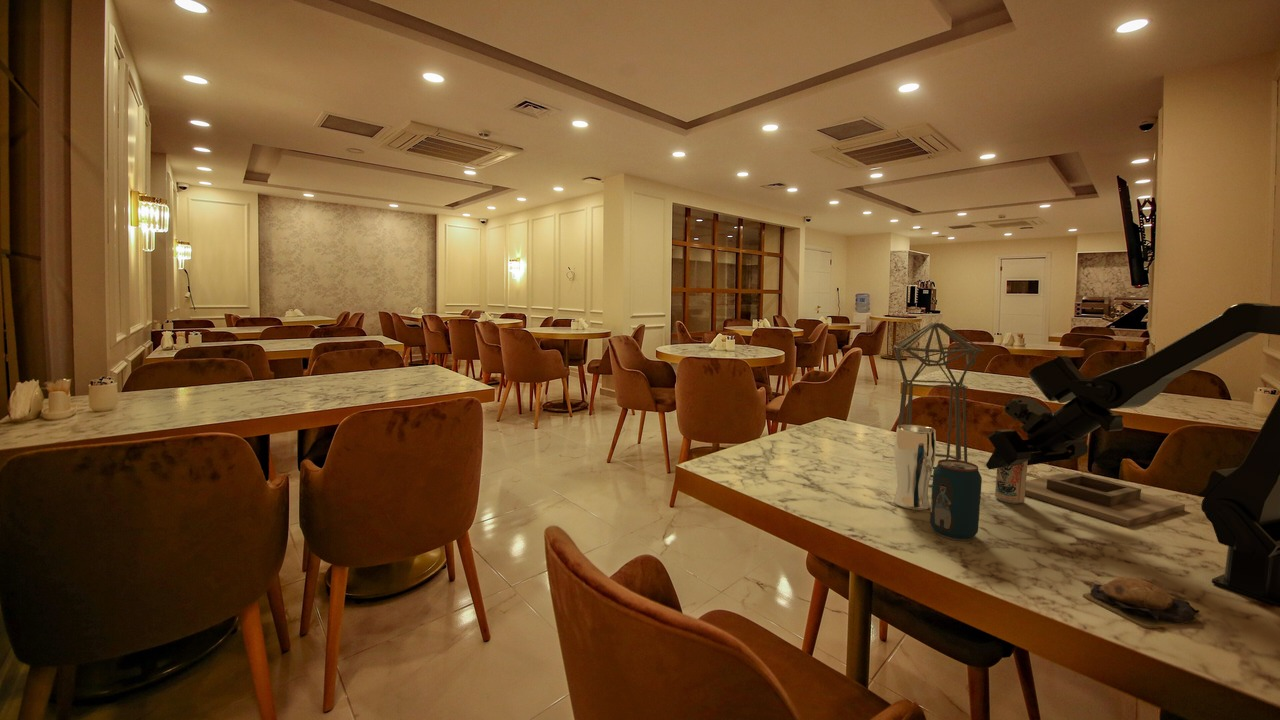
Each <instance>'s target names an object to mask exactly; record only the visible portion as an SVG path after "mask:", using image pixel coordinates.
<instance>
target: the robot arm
mask: <svg viewBox="0 0 1280 720" xmlns="http://www.w3.org/2000/svg"><path fill="white" fill-rule="evenodd" d="M1259 334H1266V335H1273V336H1274V335H1275V336H1280V305H1271V304H1269V303H1264V302H1263V303H1262V302H1259V303H1258V302H1242V303H1237V304H1234V305H1232V306H1231V305H1230V307H1228V308H1227V309H1226V310H1225V311H1224V312H1223V313H1221V314H1220V315H1218V316H1216V317H1214V318H1212V319H1211V320H1209V321H1208V322H1206V323H1204V324H1202V325H1201V326H1199V327H1198V328H1196V329H1194V330H1192V331H1191V332H1188V333H1186V334H1185V335H1184V336H1182V337H1179V338H1178V339H1177V340H1175V341H1173V342H1172V343H1170V344H1168V345H1167V346H1165V347H1163V348H1161V349H1159V350H1157V351H1156V352H1155V353H1153V354H1151V355H1149V356H1147V357H1145V358H1144V359H1141V360H1138V361H1137V362H1134V363H1130V364H1127V365H1122V366H1119V367H1117V368H1114V369H1111V370H1108V371H1107V372H1103V373H1101V374H1098V375H1096V376H1094V377H1087V378H1086V376H1084V374H1083V373H1082V372H1081V371H1080V370H1079V369H1078V368H1077V367H1076V365H1075V364H1074V363H1073V361H1072V359H1071V358H1070V357H1069V356H1068V355H1058V356H1057V357H1054V359H1051V360H1048V361H1045V362H1044V363H1041V364H1040V365H1036V366H1035V367H1033V368H1032V369H1031V370H1030V371H1029V372H1028V377H1029V379H1030V380H1031V381H1032V382H1033V383H1034V384H1035V385H1036V387H1037V388H1038V389H1039V390H1040V391H1041V393H1042V394H1043V395H1044V397H1045V398H1046V399H1047V400H1048V401H1049V402H1056V401H1057V402H1058V403H1059V404H1063V403H1065V404H1064V405H1062V406H1061V407H1059V408H1058V409H1056V410H1054V412H1052V411H1050V409H1048V408H1047V407H1045V406H1044V405H1042V404H1040V403H1039V402H1037V401H1036V400H1035V399H1033V398H1030V397H1018V398H1016V397H1015V398H1013V399H1010V400H1009V401H1008V402H1005V404H1004V408H1003V409H1004V413H1005V414H1006V415H1008V416H1010V417H1011V418H1012V419H1014V420H1017V421H1018V422H1019V423H1022V425H1021V426H1020V428H1021V429H1022V431H1023V432H1024V434H1025V433H1026V434H1027V435H1026V436H1027V437H1026V438H1027V439H1023V438H1022V437H1021V436H1020V434H1019V433H1018V431H1017V430H1015V429H1014V430H1013V429H1009V428H1008V429H997V430H994V431H993V432H992V433H989V435H988V437H987V438H988V440H989V442H991V444H992V445H993V448H994V450H993V452H992V454H991V455H990V457H989V459H988V460H987V462H986V464H985V465H986V467H987V470H994V469H996V470H997V468H1002V467H1008V466H1015V465H1021V464H1022V463H1023V462H1026V461H1028V464H1027V466H1033V465H1040V464H1046V463H1047V464H1048V463H1054V462H1055V463H1056V462H1062V461H1067V460H1073V459H1079V458H1081V457H1083V456H1085V455H1087V453H1088V450H1089V448H1088V447H1089V446H1088V445H1087V443H1086V442H1085V441H1086V440H1087V437H1086V436H1087V435H1089V434H1090V433H1092V432H1093V431H1095V430H1097V429H1099V428H1100V427H1101V428H1102V429H1103V430H1104V431H1105V432H1115V431H1116V432H1117V431H1123V430H1124V423H1123V418H1124V415H1122V414H1117V413H1115V412H1114V411H1112V410H1116V409H1117V410H1118V409H1133V408H1140V407H1142V406H1143V407H1144V406H1145V405H1147V404H1148V403H1149V402H1151V401H1152V400H1153V399H1155V398H1156V397H1157V396H1159V395H1160V394H1162V392H1163V391H1164V390H1165V389H1166V388H1167V386H1168V385H1169V384H1170V383H1171V382H1173V381H1174V380H1175V379H1176V378H1178V377H1180V376H1183V374H1185V373H1188V372H1189V371H1191V370H1193V369H1194V368H1197V367H1199V366H1201V365H1202V364H1204V363H1207V362H1208V361H1210V360H1212V359H1214V358H1216V357H1217V356H1220V355H1222V354H1223V353H1225V352H1227V351H1229V350H1232V349H1233V348H1236V347H1237V346H1239V345H1240V344H1242V343H1244V342H1246V341H1248V340H1250V339H1252V338H1254V337H1256V336H1258V335H1259ZM1070 451H1071V452H1070ZM1198 496H1199V497H1201V498H1202V497H1203V499H1202V500H1201V504H1200V507H1201V512H1203V513H1204V515H1205V517H1206V519H1207V520H1208V521H1209V522H1210V523H1211V525H1212V527H1213V530H1214V533H1215V535H1216V540H1217V542H1218V543H1219V544H1221V545H1224V546H1226V547H1227V552H1226V553H1227V554H1226V562H1225V567H1224V568H1225V569H1224V574H1220V575H1217V576H1216V577H1214V578H1211V583H1212V584H1213V585H1217V586H1220V587H1222V588H1224V589H1228V590H1231V591H1234V592H1236V593H1240V594H1242V595H1246V596H1249V597H1251V598H1254V599H1257V600H1260V601H1263V602H1266V603H1269V604H1271V605H1274V606H1277V607H1280V395H1279V396H1278V398H1277V399H1276V401H1275V403H1274V405H1273V406H1272V408H1271V410H1270V412H1269V414H1268V416H1267V417H1266V419H1265V421H1264V423H1263V424H1262V427H1261V429H1260V430H1259V431H1258V434H1257V435H1256V436H1255V439H1254V441H1253V442H1252V444H1251V446H1250V448H1249V450H1248V452H1247V453H1246V455H1245V457H1244V459H1243V461H1242V462H1241V463H1240V464H1239V465H1238V466H1237V467H1234V468H1233V467H1232V468H1224V469H1217V470H1212V471H1211V473H1210V474H1209V478H1208V482H1207V485H1206V487H1205V488H1204V489H1203V491H1201V492H1199V493H1198Z"/></svg>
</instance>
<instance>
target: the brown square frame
mask: <svg viewBox="0 0 1280 720" xmlns="http://www.w3.org/2000/svg"><path fill="white" fill-rule="evenodd" d="M1026 496H1027V497H1029V498H1033V499H1036V500H1038V501H1042V502H1046V503H1048V504H1051V505H1055V506H1058V507H1062V508H1065V509H1068V510H1072V511H1073V512H1078V513H1081V514H1084V515H1087V516H1091V517H1094V518H1096V519H1097V518H1098V519H1100V520H1103V521H1106V522H1110V523H1114V524H1115V525H1116V524H1117V525H1120V526H1123V527H1126V528H1129V527H1132V526H1135V525H1139V524H1142V523H1146V522H1148V521H1152V520H1155V519H1158V518H1162V517H1166V516H1169V515H1173V514H1176V513H1179V512H1184V511H1185V508H1186V504H1185V503H1182V502H1180V501H1179V502H1178V501H1174V500H1170V499H1166V498H1163V497H1159V496H1155V495H1151V494H1148V493H1144V492H1142V488H1138V487H1134V486H1130V485H1126V484H1122V483H1118V482H1114V481H1110V480H1107V479H1106V480H1105V479H1104V478H1103V479H1102V478H1098V477H1095V476H1091V475H1087V474H1083V473H1079V472H1076V473H1071V474H1069V473H1065V472H1062V473H1059V474H1053V475H1052V474H1051V475H1048V476H1044V477H1039V478H1032V479H1029V480H1028V479H1026V488H1025V497H1026Z"/></svg>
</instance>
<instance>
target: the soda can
mask: <svg viewBox="0 0 1280 720" xmlns="http://www.w3.org/2000/svg"><path fill="white" fill-rule="evenodd" d="M961 460H962V459H961ZM961 460H955V459H952V458H948V459H946V458H943V459H939V460H938V461H937V464H936V466H935V467H936V468H935V469H933V470H932V475H933V478H932V484H931V485H932V487H931V500H930V513H929V524H930V526H931V527H932V529H933V531H934V532H935V534H937V535H939V536H940V537H943V538H946V539H949V540H953V541H959V542H961V541H962V542H966V541H970V540H972V539H974V537H975V536H977V533H978V532H979V523H980V509H981V508H980V507H981V496H982V495H981V494H982V484H983V483H982V481H983V477H982V475H981V473H980V471H979V466H978V465H977V464H975V463H972V462H969V461H967V462H966V461H964V460H962V461H961Z"/></svg>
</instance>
